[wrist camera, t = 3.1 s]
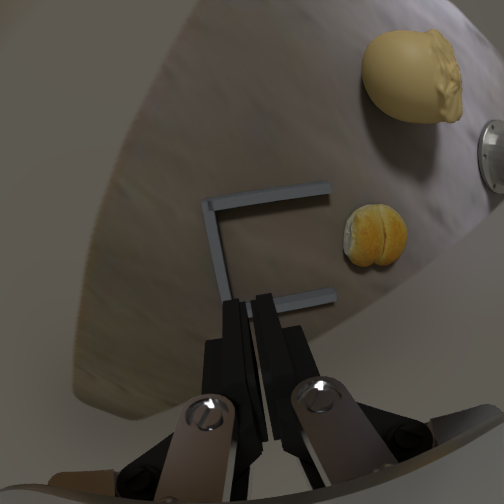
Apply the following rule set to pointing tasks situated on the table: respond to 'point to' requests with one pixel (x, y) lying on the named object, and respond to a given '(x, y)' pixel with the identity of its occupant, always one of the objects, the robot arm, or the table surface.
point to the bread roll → (374, 235)
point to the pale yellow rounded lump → (413, 77)
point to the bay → (255, 198)
